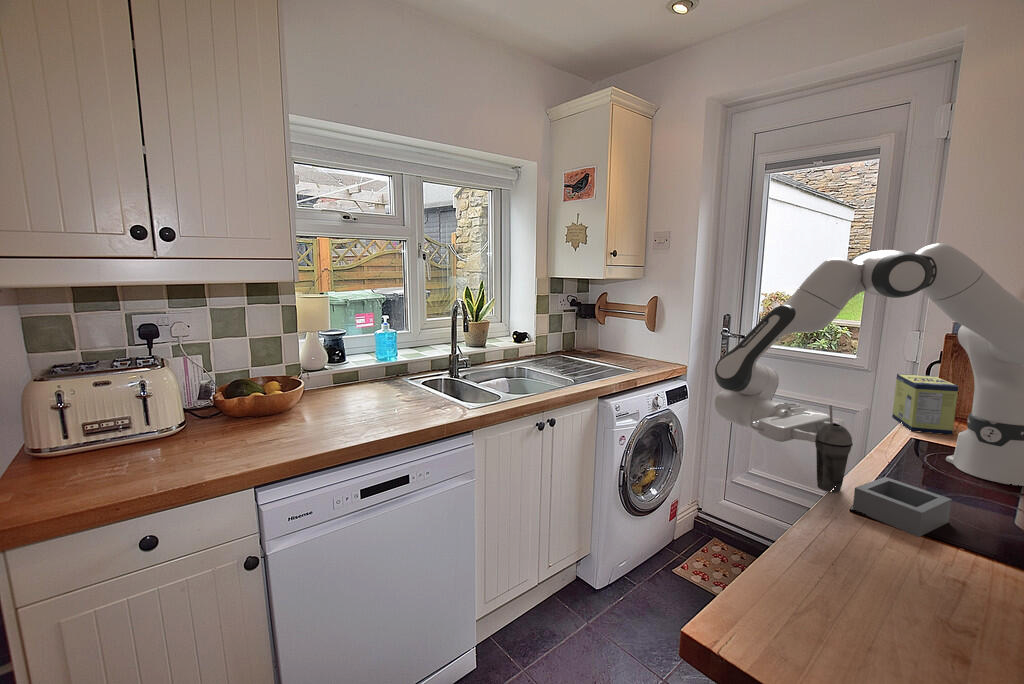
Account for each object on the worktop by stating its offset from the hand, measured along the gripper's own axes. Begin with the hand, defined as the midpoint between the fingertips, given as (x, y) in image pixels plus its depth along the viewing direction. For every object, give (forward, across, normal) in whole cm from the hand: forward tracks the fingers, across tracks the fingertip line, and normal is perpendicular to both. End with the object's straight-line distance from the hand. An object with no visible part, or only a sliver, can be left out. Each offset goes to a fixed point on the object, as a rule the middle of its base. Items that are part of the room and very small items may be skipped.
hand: (829, 435), depth 106 cm
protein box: (-12, +71, +13) cm, 73 cm away
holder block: (+15, 0, +13) cm, 19 cm away
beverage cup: (+1, 0, +13) cm, 13 cm away
